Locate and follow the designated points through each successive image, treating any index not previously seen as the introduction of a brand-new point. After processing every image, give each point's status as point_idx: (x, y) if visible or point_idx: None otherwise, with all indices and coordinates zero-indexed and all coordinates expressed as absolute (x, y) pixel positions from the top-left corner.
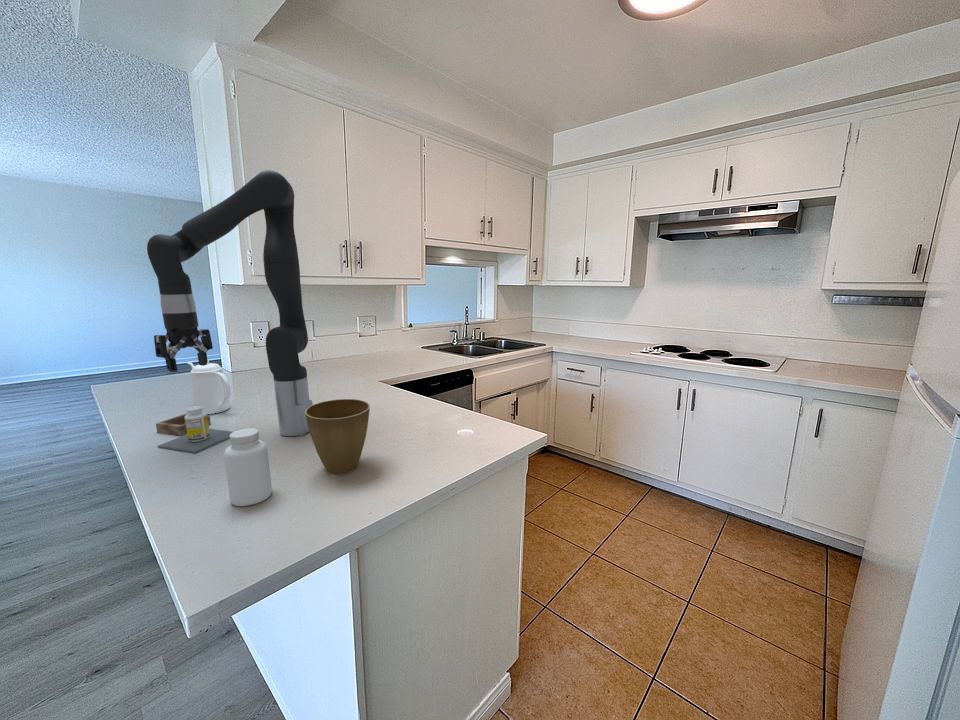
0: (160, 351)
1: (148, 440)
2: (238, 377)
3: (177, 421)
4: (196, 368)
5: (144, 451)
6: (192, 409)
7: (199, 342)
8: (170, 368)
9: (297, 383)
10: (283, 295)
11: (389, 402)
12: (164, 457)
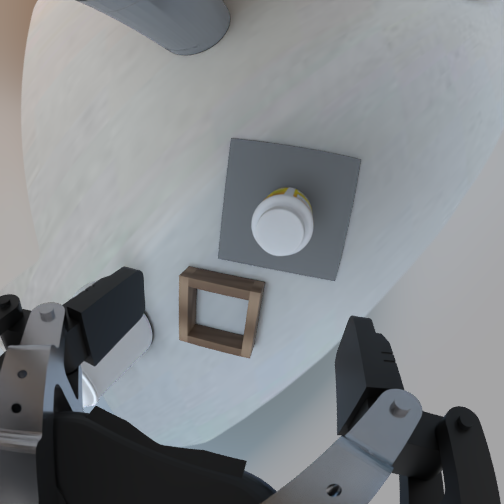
0: (417, 489)
1: (296, 330)
2: None
3: (211, 336)
4: (83, 396)
5: (354, 290)
6: (293, 227)
7: (14, 380)
8: (388, 346)
9: None
10: None
11: (53, 9)
12: (383, 218)
